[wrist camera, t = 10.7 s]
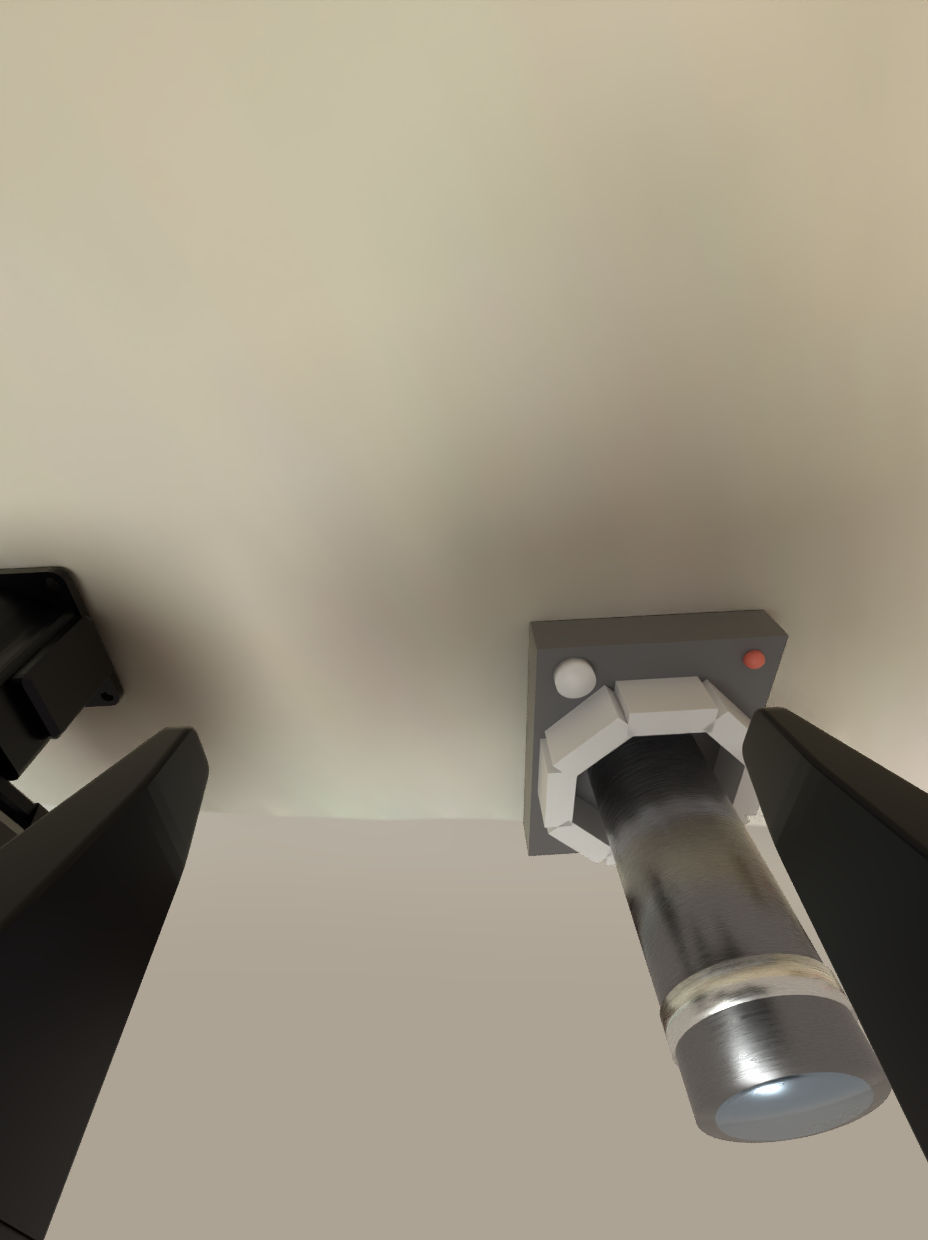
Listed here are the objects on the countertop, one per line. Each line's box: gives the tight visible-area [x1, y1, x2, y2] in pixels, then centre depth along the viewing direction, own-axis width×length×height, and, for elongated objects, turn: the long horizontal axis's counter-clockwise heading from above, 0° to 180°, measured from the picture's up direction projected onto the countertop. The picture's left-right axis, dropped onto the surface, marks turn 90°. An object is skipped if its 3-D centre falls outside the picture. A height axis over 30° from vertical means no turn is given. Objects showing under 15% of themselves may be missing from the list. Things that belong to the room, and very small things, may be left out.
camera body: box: [523, 610, 788, 865], centre depth 25 cm, size 10×13×4 cm
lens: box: [587, 733, 892, 1143], centre depth 20 cm, size 5×5×13 cm
